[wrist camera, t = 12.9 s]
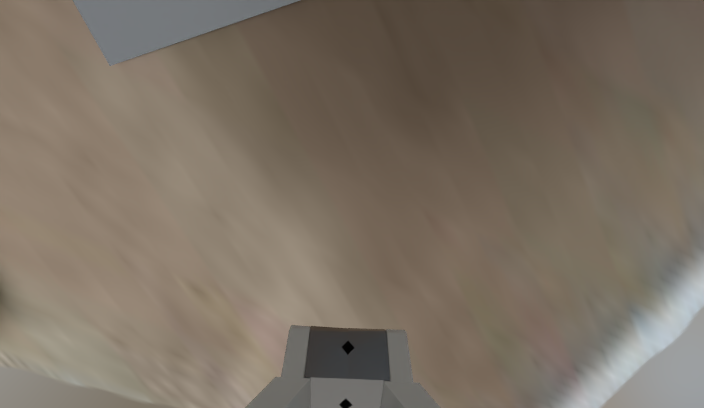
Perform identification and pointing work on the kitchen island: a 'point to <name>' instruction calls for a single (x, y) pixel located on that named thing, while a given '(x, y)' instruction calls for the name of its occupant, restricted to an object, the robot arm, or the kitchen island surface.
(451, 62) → the kitchen island surface
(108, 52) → the base
